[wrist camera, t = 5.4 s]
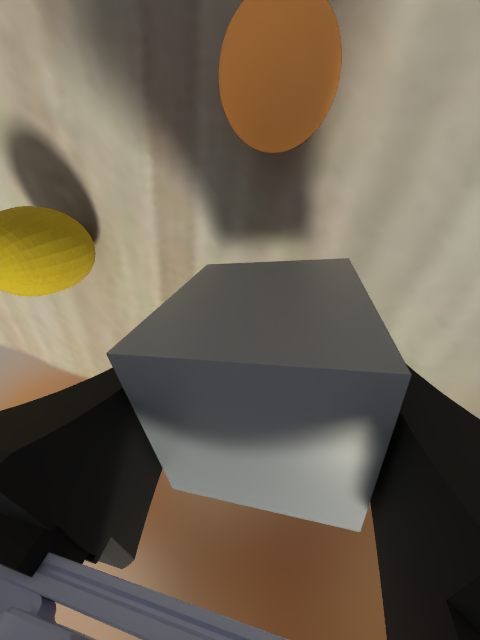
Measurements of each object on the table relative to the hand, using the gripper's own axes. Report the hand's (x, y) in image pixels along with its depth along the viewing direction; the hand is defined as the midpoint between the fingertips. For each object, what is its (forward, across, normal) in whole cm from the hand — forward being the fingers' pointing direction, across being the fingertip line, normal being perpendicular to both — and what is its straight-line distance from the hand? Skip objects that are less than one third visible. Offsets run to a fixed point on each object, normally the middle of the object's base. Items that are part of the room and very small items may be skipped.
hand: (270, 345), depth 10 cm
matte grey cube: (+2, 0, 0) cm, 2 cm away
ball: (+6, 0, -10) cm, 11 cm away
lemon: (+9, +16, -4) cm, 18 cm away
